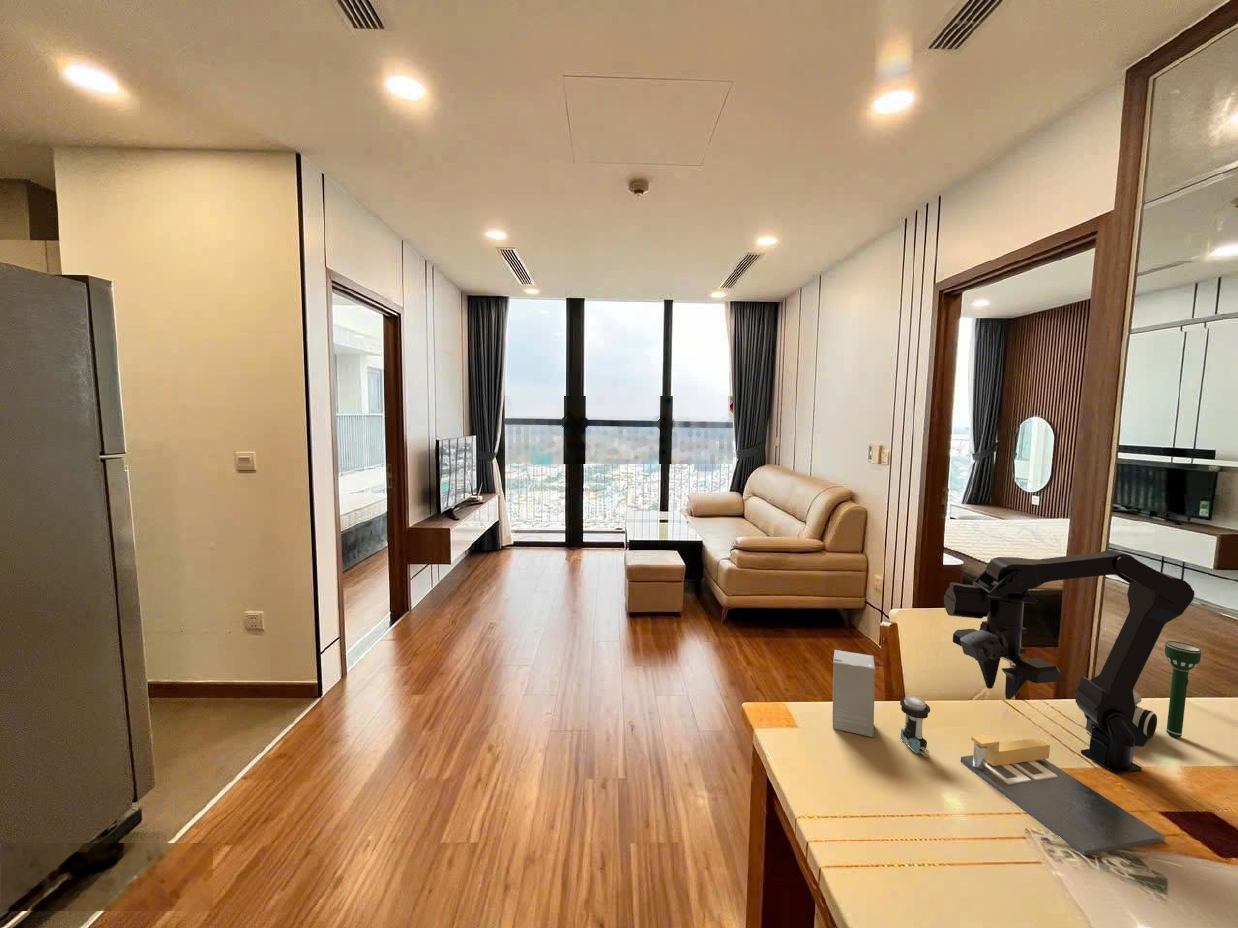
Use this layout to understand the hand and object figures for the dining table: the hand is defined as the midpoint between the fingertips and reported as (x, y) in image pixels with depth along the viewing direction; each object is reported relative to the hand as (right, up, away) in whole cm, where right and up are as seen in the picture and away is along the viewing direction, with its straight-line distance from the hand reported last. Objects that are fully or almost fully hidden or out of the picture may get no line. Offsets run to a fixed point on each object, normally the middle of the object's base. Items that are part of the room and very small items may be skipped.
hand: (998, 693), depth 103 cm
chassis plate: (-1, -12, -14) cm, 19 cm away
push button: (-18, -11, -1) cm, 21 cm away
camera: (+31, -11, +6) cm, 34 cm away
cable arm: (-3, -10, -6) cm, 12 cm away
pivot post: (-10, -12, -8) cm, 17 cm away
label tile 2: (-6, -11, -9) cm, 15 cm away
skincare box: (-28, -10, +6) cm, 30 cm away
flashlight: (+42, -12, +5) cm, 44 cm away
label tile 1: (0, -11, -8) cm, 13 cm away
